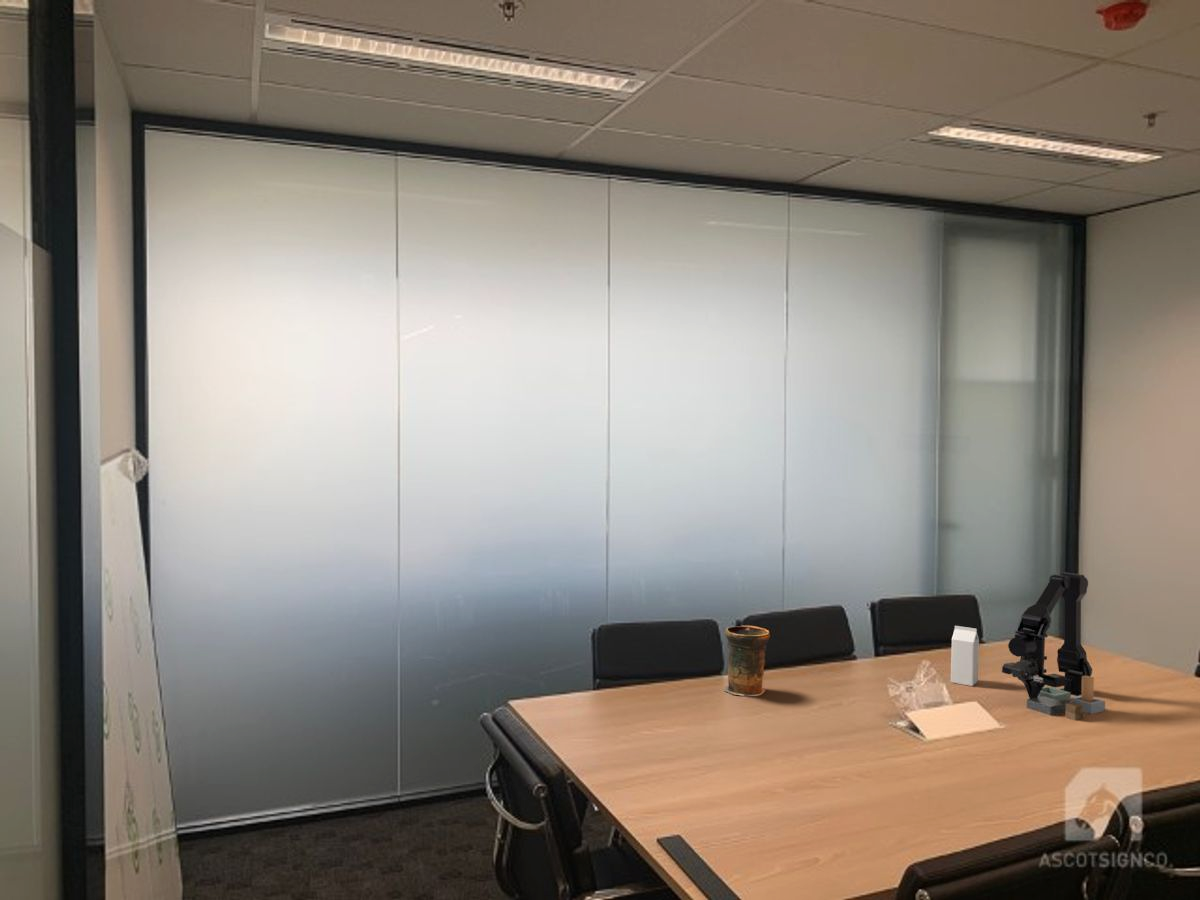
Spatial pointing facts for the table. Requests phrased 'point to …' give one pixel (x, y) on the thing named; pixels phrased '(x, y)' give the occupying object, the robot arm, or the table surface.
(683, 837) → the table surface
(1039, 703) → the grey slab
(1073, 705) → the block
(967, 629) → the milk carton
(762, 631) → the vessel
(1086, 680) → the dowel
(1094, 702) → the socket block
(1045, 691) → the tray
